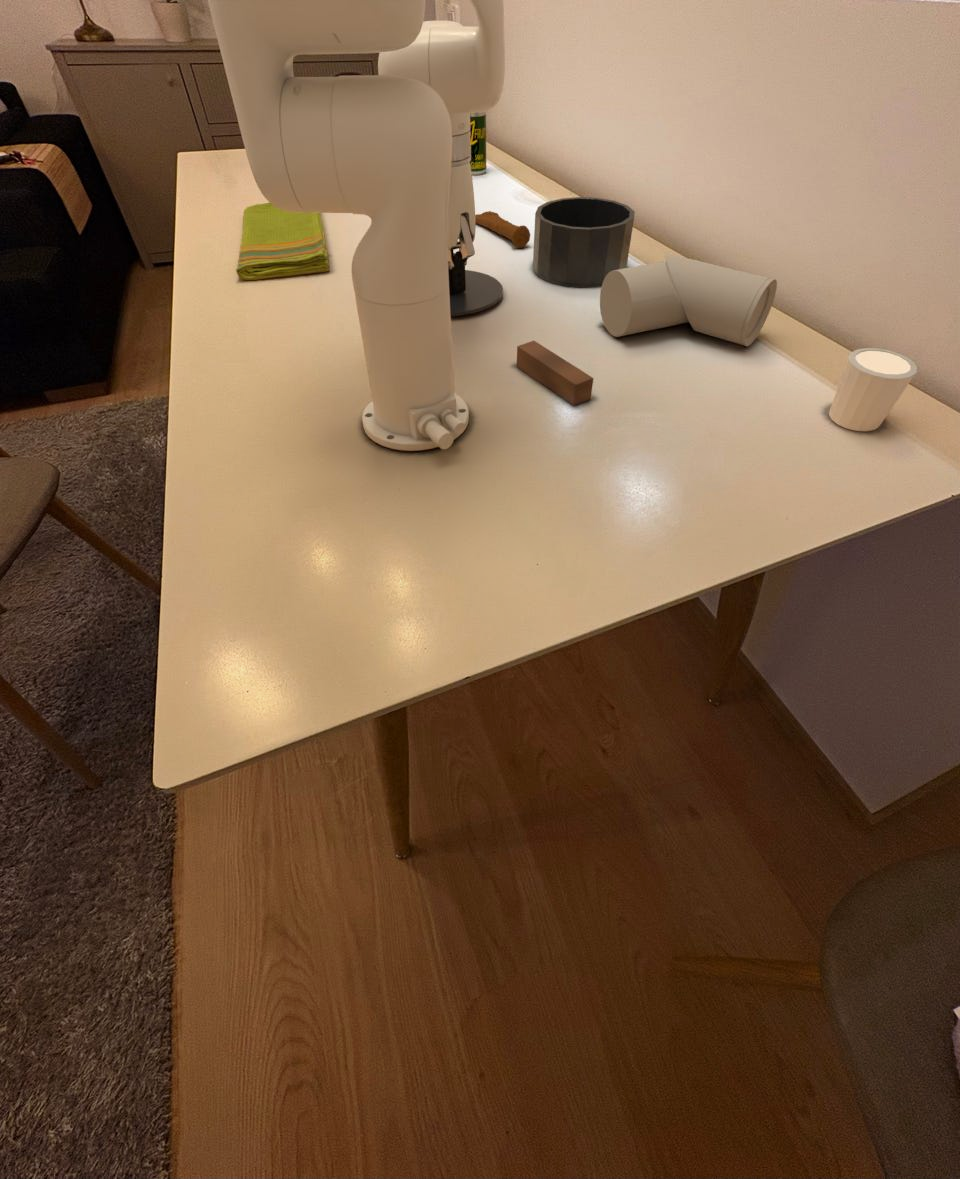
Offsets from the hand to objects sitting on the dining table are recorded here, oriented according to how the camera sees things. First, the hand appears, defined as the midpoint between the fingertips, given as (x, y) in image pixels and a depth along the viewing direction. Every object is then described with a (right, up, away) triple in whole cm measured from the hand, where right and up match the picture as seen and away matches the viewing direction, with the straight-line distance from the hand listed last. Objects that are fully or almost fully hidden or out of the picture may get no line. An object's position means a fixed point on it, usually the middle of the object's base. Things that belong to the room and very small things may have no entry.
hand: (450, 287), depth 94 cm
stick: (+14, -21, -17) cm, 30 cm away
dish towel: (-32, +18, +19) cm, 41 cm away
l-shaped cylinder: (+34, -11, -8) cm, 37 cm away
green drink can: (+4, +52, +48) cm, 71 cm away
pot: (+22, +7, +8) cm, 24 cm away
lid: (0, -1, +1) cm, 1 cm away
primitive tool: (+8, +21, +21) cm, 30 cm away
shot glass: (+49, -27, -23) cm, 61 cm away
